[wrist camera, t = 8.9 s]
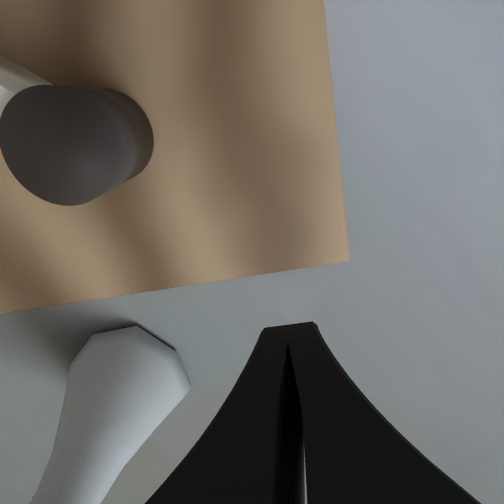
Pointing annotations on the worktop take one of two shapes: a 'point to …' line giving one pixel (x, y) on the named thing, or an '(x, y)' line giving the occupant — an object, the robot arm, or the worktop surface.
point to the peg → (69, 136)
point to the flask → (109, 412)
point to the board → (181, 147)
